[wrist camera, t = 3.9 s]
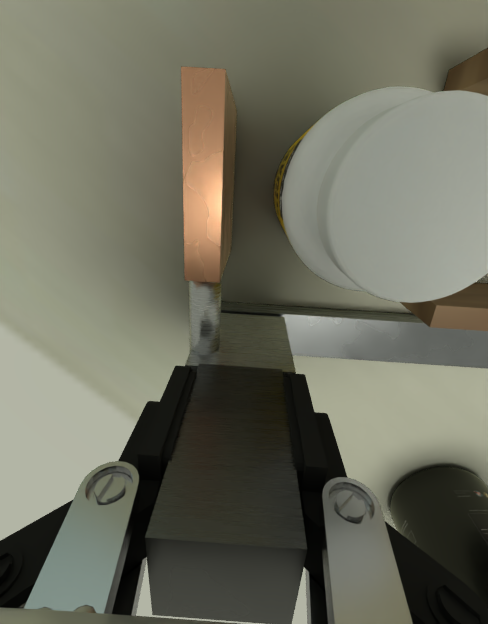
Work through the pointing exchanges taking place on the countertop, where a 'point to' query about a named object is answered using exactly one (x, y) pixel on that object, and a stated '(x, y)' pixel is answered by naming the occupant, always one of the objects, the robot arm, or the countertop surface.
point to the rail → (372, 336)
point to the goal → (478, 296)
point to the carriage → (225, 413)
